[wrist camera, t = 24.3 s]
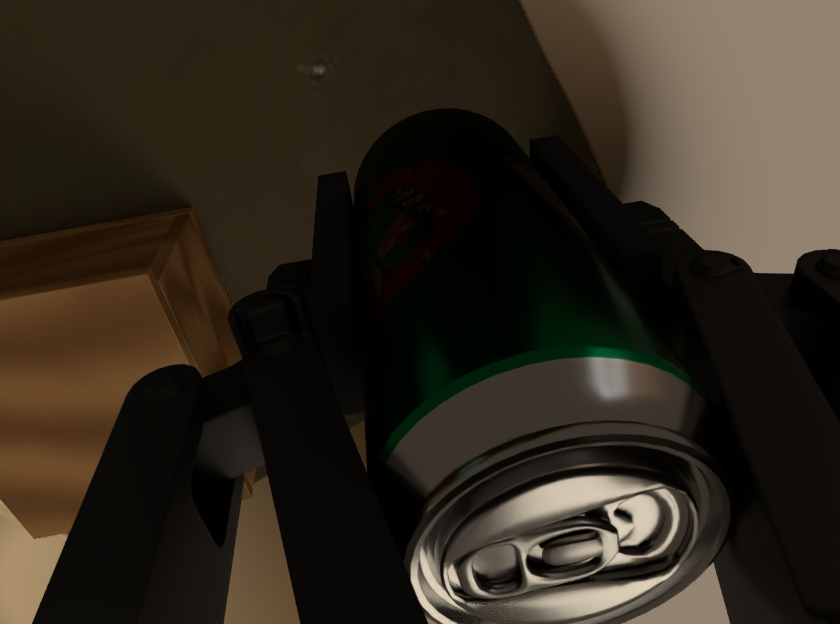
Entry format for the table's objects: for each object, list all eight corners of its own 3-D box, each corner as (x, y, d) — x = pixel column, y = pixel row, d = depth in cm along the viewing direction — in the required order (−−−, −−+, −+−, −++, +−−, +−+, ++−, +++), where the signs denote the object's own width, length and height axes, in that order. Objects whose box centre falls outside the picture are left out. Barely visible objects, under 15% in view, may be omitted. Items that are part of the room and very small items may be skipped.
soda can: (534, 243, 19) (750, 612, 9) (379, 283, 19) (422, 688, 9) (512, 80, 16) (794, 359, 6) (330, 129, 16) (314, 477, 6)
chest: (-32, 246, 36) (-124, 331, 29) (193, 206, 37) (158, 281, 29) (86, 427, 45) (39, 527, 38) (266, 394, 46) (253, 487, 38)
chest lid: (-136, 316, 28) (-147, 326, 28) (150, 265, 29) (146, 273, 28) (38, 528, 38) (33, 539, 37) (253, 488, 38) (251, 498, 38)
